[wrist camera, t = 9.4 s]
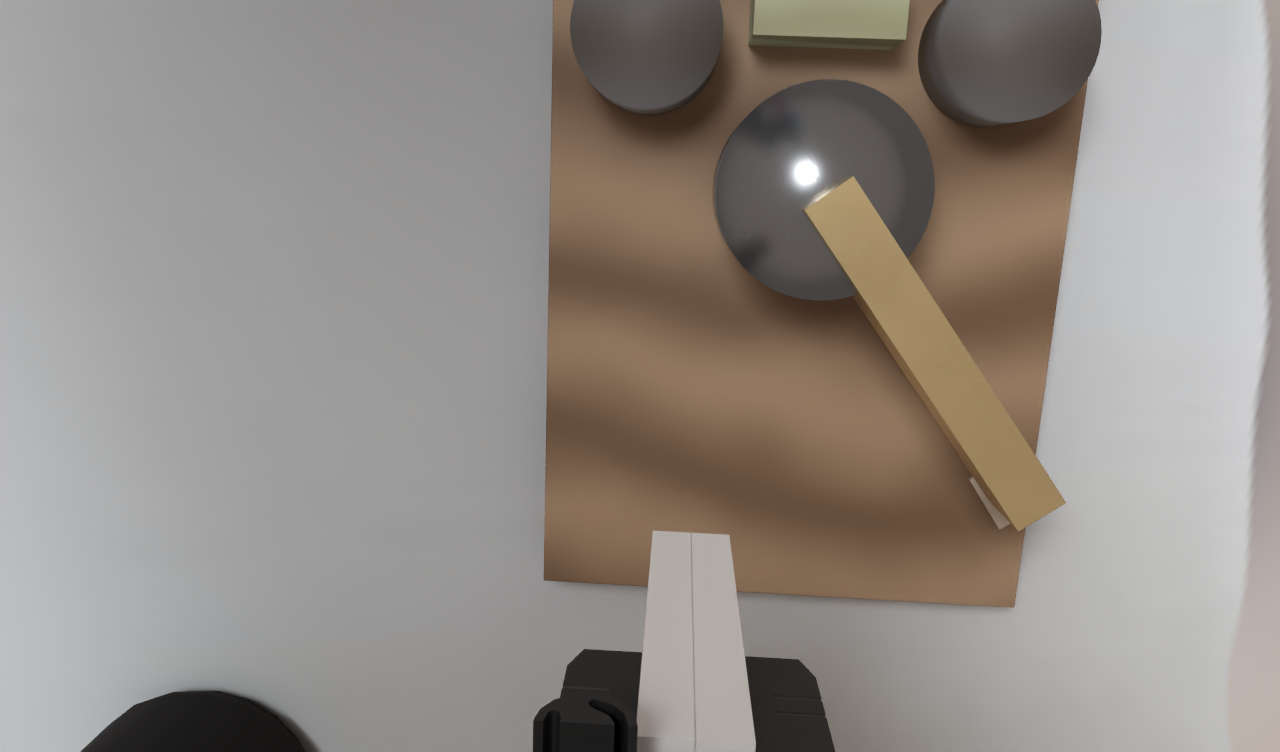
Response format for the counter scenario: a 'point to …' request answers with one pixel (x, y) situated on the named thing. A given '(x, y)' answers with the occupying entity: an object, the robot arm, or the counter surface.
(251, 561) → the counter surface
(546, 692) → the counter surface
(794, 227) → the ball-head mallet
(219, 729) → the coffee jar
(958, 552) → the instrument base
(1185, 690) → the counter surface
